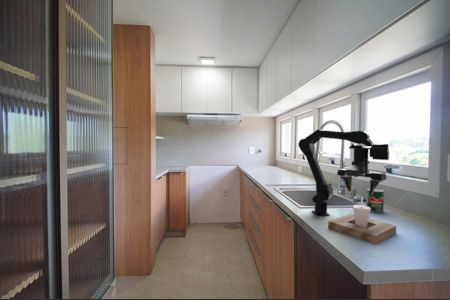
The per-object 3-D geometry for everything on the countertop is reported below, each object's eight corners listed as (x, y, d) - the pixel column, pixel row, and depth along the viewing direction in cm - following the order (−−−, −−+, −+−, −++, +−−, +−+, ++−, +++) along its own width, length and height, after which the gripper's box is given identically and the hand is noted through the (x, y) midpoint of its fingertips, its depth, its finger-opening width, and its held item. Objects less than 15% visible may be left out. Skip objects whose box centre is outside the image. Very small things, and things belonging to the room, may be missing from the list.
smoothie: (369, 229, 95) (370, 195, 94) (370, 234, 89) (371, 199, 89) (352, 226, 98) (353, 194, 97) (352, 231, 92) (352, 197, 92)
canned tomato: (373, 212, 117) (373, 191, 117) (362, 208, 125) (363, 188, 125) (387, 212, 118) (388, 191, 117) (376, 207, 126) (376, 188, 125)
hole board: (328, 228, 96) (328, 221, 96) (350, 219, 106) (350, 213, 106) (375, 244, 81) (376, 235, 81) (395, 232, 91) (396, 225, 91)
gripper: (331, 158, 106) (330, 191, 106) (375, 161, 91) (374, 200, 91) (343, 157, 112) (342, 188, 113) (387, 160, 97) (386, 196, 97)
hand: (359, 193), depth 103 cm, fingers open, 9 cm apart
